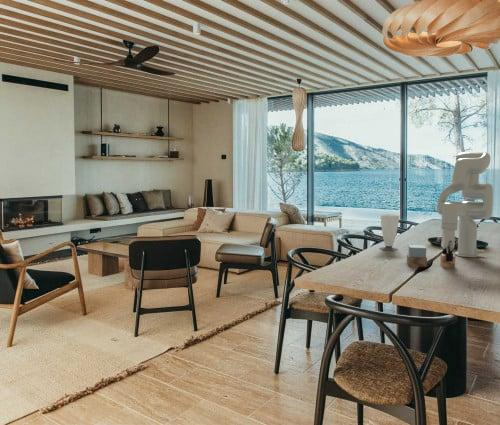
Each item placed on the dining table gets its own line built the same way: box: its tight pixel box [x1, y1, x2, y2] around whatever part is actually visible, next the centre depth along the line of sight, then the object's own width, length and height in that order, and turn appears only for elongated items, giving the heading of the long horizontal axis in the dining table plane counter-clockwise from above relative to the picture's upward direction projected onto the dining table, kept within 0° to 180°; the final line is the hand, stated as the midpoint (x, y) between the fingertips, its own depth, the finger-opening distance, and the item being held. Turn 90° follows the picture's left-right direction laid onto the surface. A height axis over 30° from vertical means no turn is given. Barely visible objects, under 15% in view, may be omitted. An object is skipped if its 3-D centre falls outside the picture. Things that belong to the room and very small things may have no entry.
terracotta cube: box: [439, 253, 456, 269], centre depth 234 cm, size 6×6×6 cm
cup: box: [379, 213, 400, 252], centre depth 281 cm, size 12×12×22 cm
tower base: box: [406, 253, 428, 268], centre depth 238 cm, size 9×9×5 cm
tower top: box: [408, 244, 427, 258], centre depth 237 cm, size 8×8×5 cm
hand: (447, 259), depth 233 cm, fingers open, 9 cm apart
